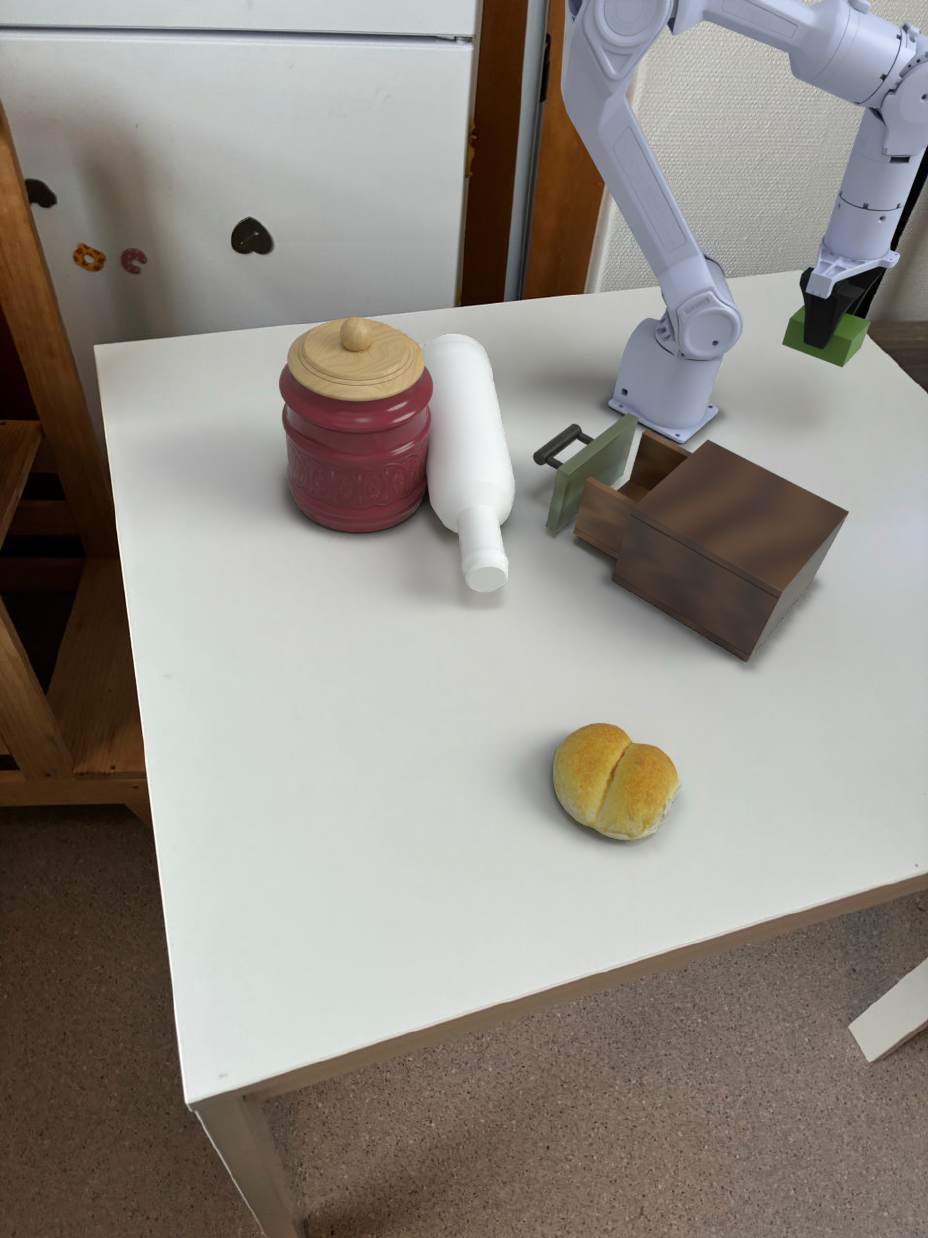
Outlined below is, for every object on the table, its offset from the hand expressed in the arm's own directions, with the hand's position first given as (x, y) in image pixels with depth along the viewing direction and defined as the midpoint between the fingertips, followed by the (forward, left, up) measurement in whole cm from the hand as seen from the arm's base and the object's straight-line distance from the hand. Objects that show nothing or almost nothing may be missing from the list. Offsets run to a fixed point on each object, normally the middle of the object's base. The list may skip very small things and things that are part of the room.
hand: (824, 334), depth 90 cm
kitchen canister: (-25, -41, -11) cm, 49 cm away
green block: (0, 0, -1) cm, 1 cm away
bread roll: (+11, -52, -11) cm, 54 cm away
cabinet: (+6, -28, -10) cm, 30 cm away
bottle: (-29, -23, -6) cm, 38 cm away
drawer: (-5, -28, -10) cm, 30 cm away
